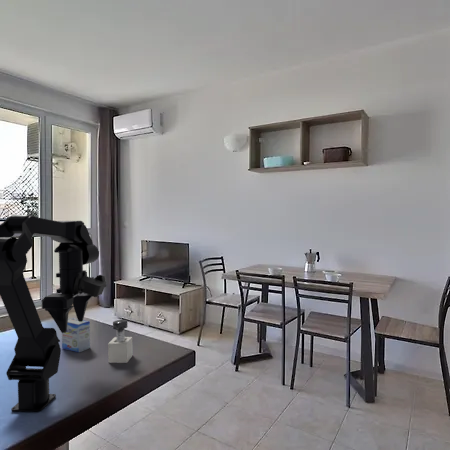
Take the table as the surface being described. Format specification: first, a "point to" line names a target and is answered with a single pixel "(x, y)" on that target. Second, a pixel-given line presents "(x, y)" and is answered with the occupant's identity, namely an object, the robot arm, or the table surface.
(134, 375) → the table surface
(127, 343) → the press block
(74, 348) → the medicine box
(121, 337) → the plunger
